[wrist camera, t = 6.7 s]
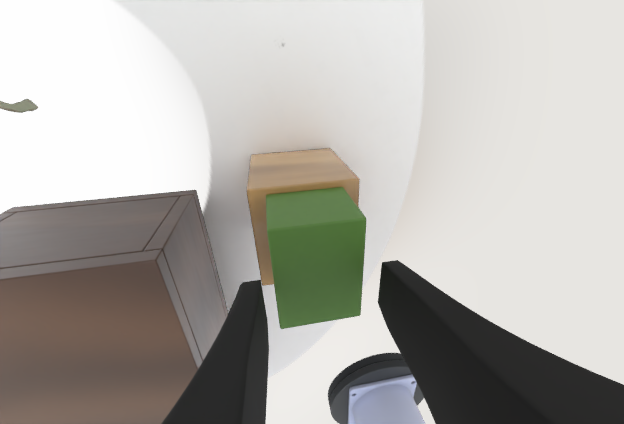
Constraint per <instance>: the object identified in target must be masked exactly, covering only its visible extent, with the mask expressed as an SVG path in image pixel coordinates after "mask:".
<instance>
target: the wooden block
mask: <svg viewBox="0 0 624 424" xmlns="http://www.w3.org/2000/svg"><path fill="white" fill-rule="evenodd" d="M336 187H343V188H344V189H345V190H346V192H347V193H348V194H349V196H350V197H351V198H352V200H353V201H354V203H355V204H356V205H357V207H358V199H359V178H358V177H357V176H356V175H355V174H354V173H353V172H352V171H351V170H350V168H349V167H348V166H347V165H346V164H345V163H344V162H343V161H342V160H341V159H340V158H339V157H338V156H337V155H336V154H335V153H334V152H333V151H332V150H331V149H330V148H327V149H315V150H303V151H291V152H279V153H266V154H254V155H251V160H250V168H249V176H248V184H247V196H248V202H249V208H250V214H251V220H252V226H253V232H254V238H255V245H256V251H257V257H258V263H259V269H260V275H261V281H262V285H270V284H274V279H273V272H272V264H271V257H270V250H269V242H268V235H267V219H266V195H268V194H278V193H287V192H297V191H307V190H317V189H327V188H336Z"/></svg>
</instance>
